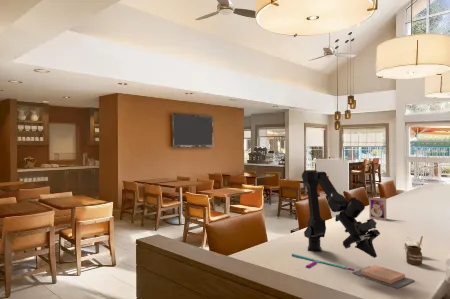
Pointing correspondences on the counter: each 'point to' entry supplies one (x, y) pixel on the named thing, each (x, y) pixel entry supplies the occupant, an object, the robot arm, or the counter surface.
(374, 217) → the greeting card
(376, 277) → the ceramic tile
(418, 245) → the elephant figurine
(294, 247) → the counter surface
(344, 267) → the squeegee
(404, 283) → the rubber mat
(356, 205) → the robot arm
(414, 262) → the utensil holder
